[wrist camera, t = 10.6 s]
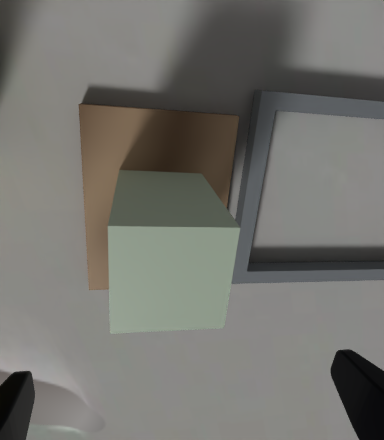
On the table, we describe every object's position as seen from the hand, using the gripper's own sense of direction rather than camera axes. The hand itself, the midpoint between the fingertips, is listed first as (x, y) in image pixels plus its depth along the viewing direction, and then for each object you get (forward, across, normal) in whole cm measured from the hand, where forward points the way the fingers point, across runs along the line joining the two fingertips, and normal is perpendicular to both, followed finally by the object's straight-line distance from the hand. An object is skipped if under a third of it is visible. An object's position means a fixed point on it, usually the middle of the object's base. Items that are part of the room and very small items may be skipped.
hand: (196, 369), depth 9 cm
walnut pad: (+13, 0, 0) cm, 13 cm away
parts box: (+12, 0, 0) cm, 12 cm away
